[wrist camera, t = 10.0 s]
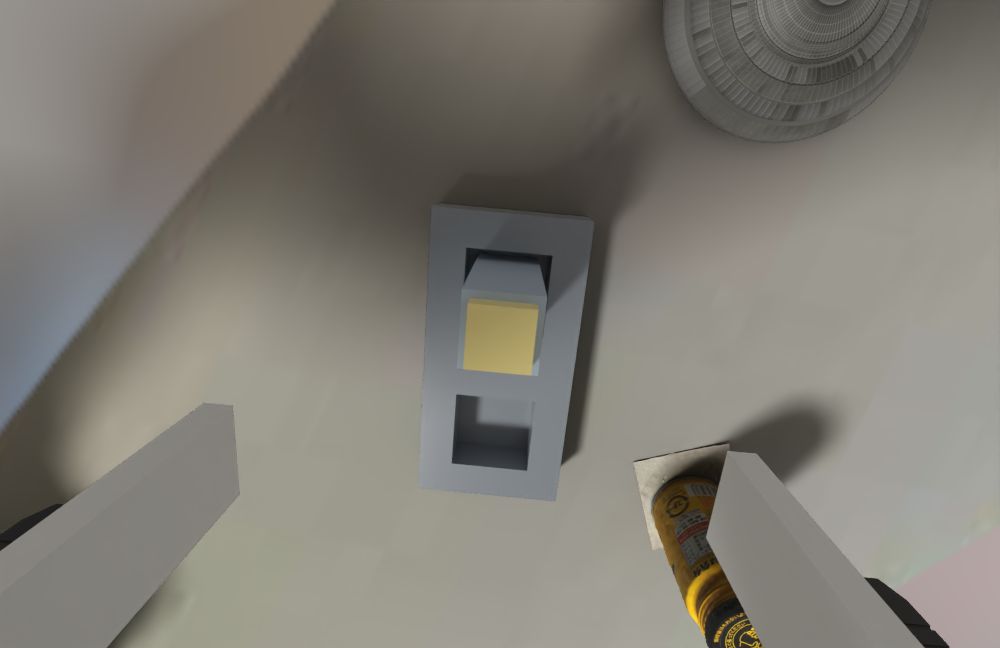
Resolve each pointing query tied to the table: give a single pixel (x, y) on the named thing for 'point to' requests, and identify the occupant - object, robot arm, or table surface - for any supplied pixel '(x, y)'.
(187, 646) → the table surface
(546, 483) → the panel
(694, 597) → the condiment
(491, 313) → the plug
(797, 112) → the flying saucer
